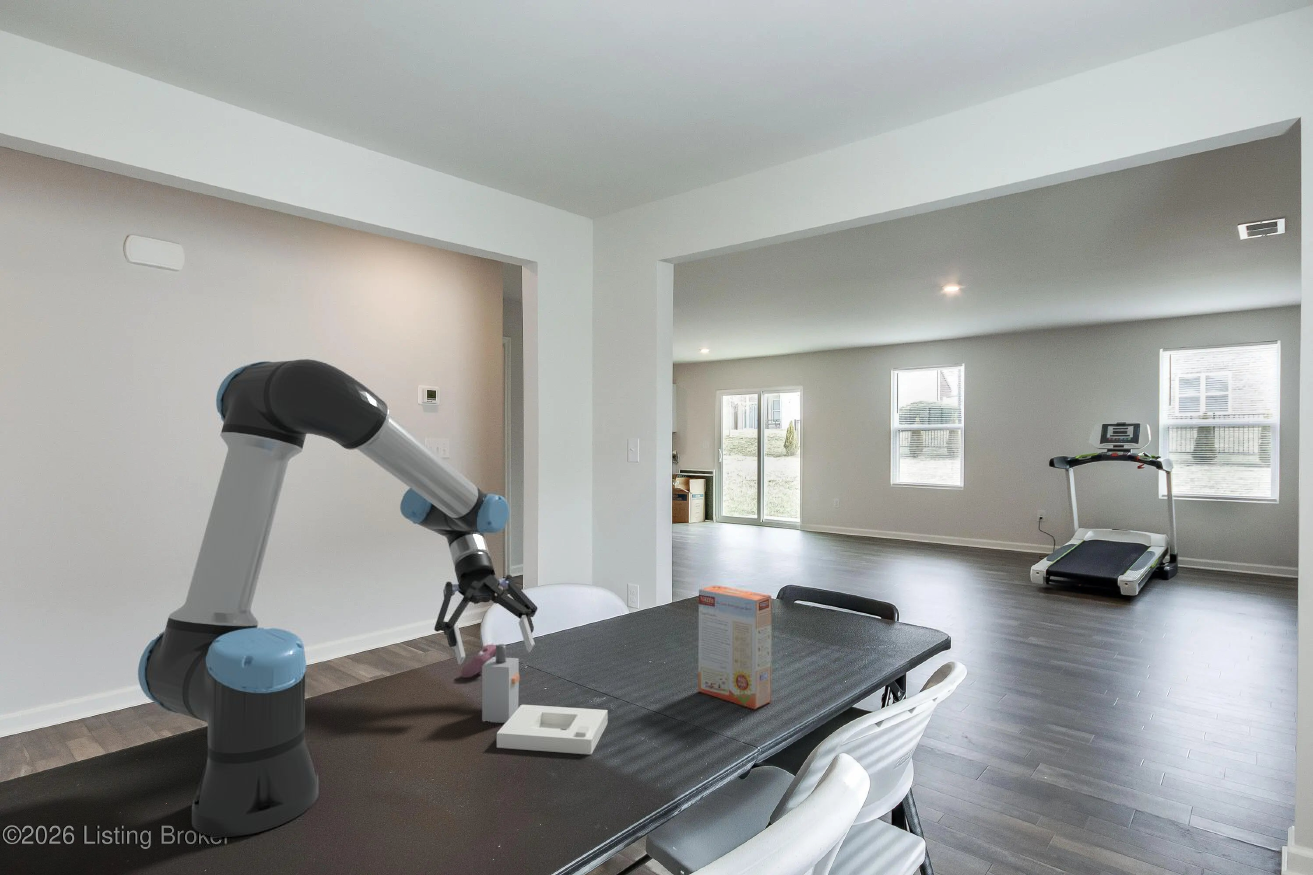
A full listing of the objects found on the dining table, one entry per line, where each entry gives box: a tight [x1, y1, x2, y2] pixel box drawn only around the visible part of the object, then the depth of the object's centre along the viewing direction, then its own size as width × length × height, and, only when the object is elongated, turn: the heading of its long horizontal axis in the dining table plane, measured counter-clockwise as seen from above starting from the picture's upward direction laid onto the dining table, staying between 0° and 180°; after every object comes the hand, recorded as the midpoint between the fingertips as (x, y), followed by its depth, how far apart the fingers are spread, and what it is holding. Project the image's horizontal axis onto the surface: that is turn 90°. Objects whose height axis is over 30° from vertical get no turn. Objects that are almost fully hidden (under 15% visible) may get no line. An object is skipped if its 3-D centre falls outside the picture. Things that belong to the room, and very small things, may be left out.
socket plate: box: [496, 704, 609, 755], centre depth 117 cm, size 16×12×3 cm
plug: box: [481, 643, 521, 724], centre depth 125 cm, size 6×5×13 cm
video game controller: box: [460, 642, 498, 679], centre depth 149 cm, size 10×5×7 cm, turn 169°
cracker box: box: [697, 584, 772, 710], centre depth 135 cm, size 14×6×21 cm, turn 47°
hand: (497, 654), depth 130 cm, fingers open, 13 cm apart
